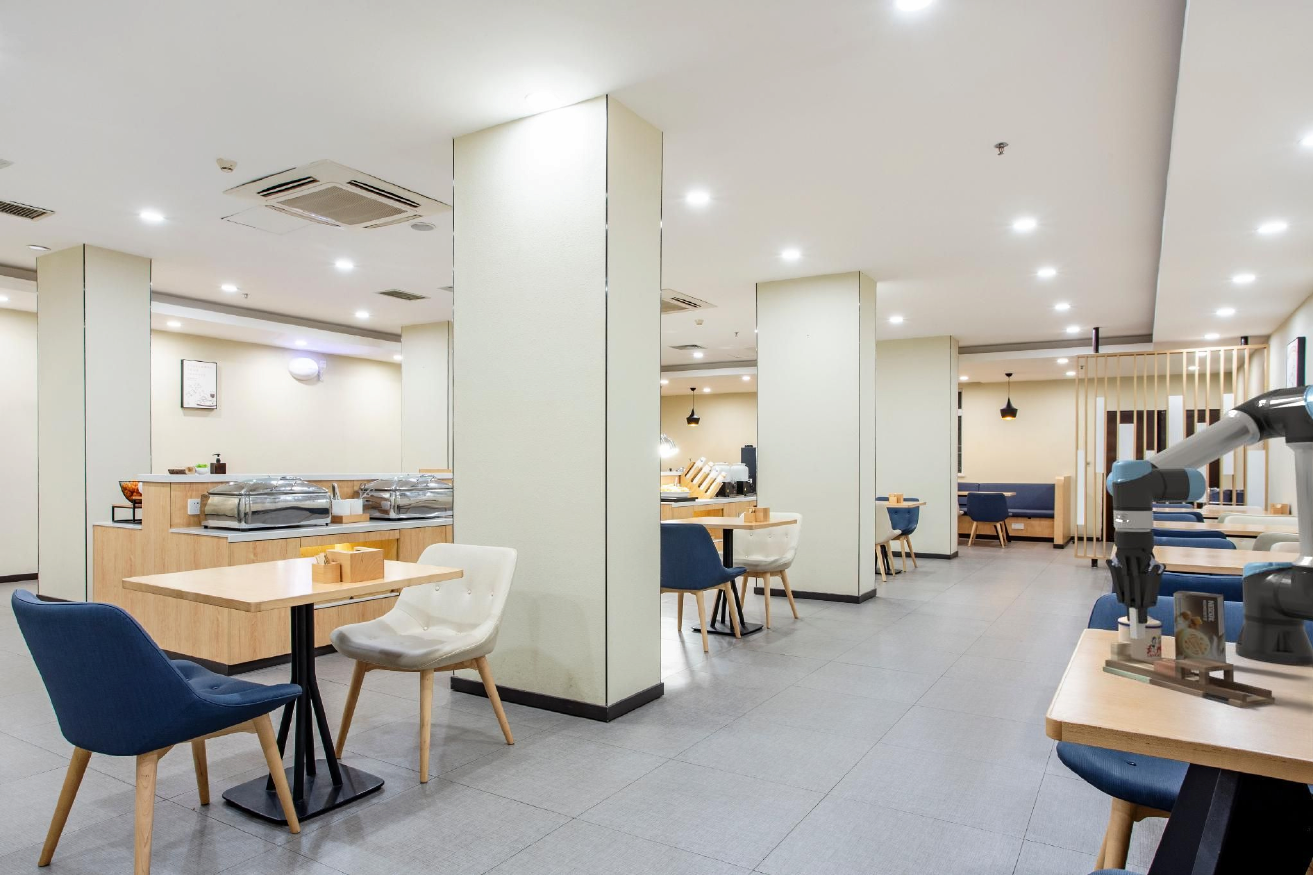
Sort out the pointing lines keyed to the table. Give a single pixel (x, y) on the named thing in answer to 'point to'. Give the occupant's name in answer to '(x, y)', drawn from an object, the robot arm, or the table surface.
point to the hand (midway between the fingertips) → (1138, 637)
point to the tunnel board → (1204, 688)
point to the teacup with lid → (1143, 640)
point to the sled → (1123, 655)
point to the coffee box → (1199, 626)
